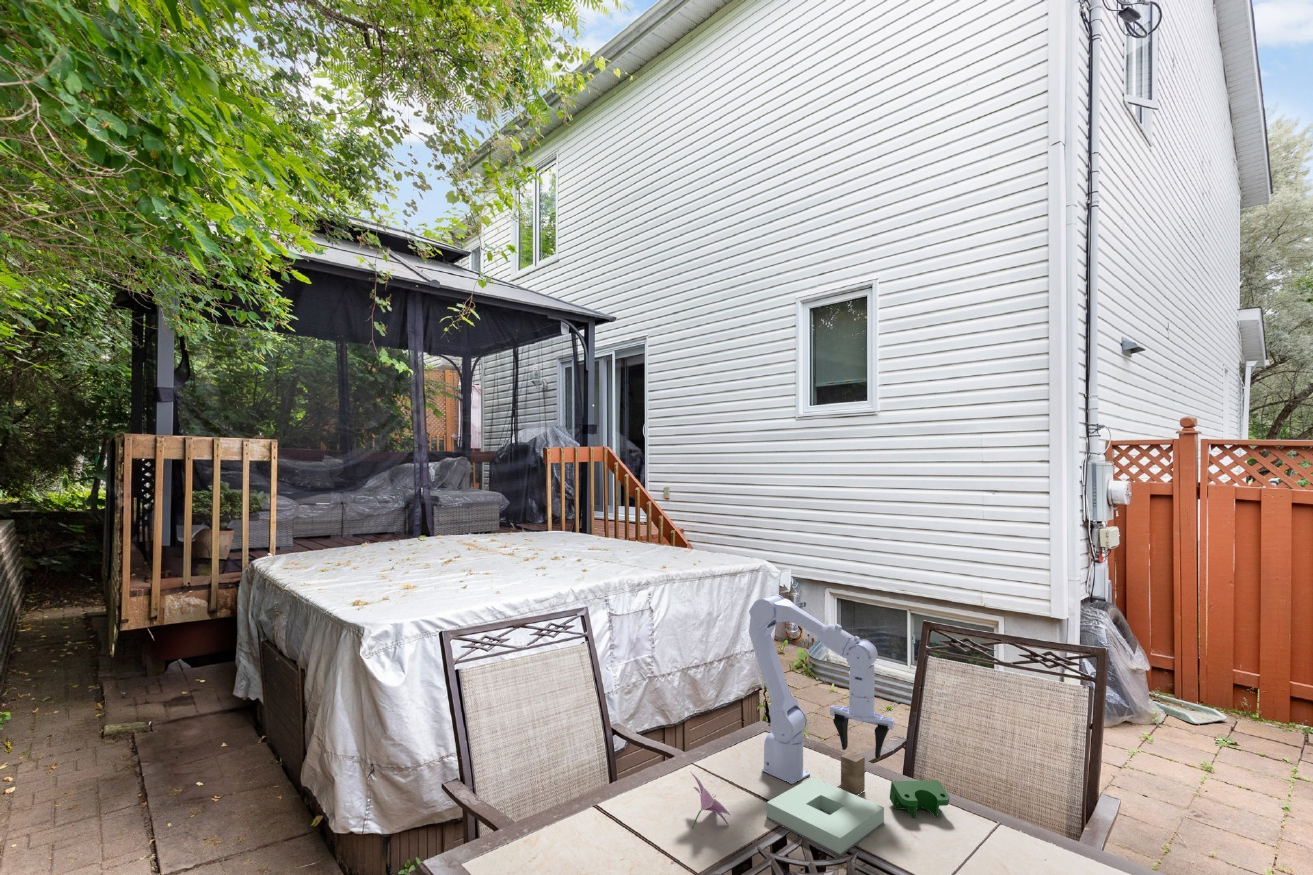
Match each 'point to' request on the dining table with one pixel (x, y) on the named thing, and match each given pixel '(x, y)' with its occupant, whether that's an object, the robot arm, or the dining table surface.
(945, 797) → the clamp
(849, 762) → the post
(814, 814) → the well block
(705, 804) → the lily
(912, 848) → the dining table surface
